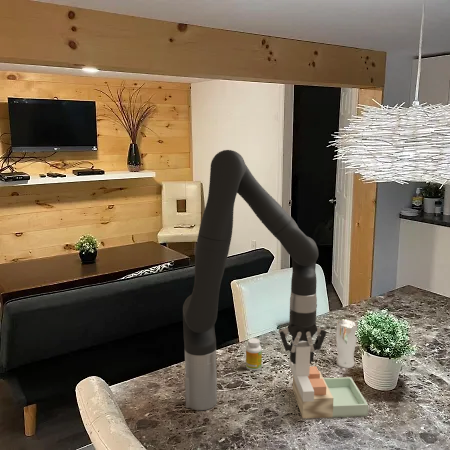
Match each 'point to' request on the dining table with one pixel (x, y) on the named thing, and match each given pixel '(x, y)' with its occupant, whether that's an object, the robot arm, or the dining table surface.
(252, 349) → the supplement bottle
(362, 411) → the box
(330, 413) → the tan block
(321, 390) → the tile front
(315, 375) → the tile back
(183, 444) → the dining table surface
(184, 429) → the dining table surface
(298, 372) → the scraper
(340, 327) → the beer glass
